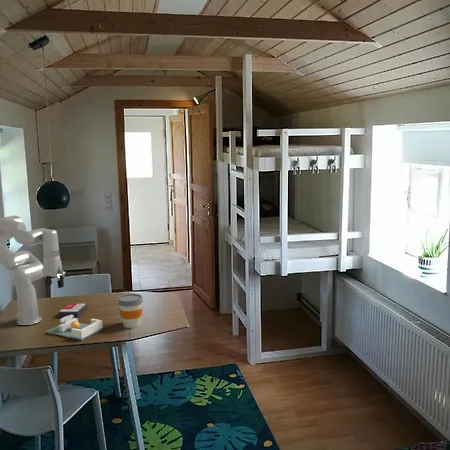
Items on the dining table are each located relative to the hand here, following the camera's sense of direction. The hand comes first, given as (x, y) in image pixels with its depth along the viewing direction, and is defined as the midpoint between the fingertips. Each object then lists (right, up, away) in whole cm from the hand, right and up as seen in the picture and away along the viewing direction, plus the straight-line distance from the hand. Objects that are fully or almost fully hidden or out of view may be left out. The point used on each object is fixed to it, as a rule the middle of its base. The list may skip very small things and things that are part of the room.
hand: (55, 286), depth 249 cm
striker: (+6, -22, +1) cm, 23 cm away
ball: (+11, -20, -2) cm, 23 cm away
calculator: (+1, -19, +26) cm, 32 cm away
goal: (+18, -23, -5) cm, 30 cm away
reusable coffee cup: (+39, -21, +6) cm, 45 cm away
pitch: (+11, -23, -1) cm, 25 cm away
